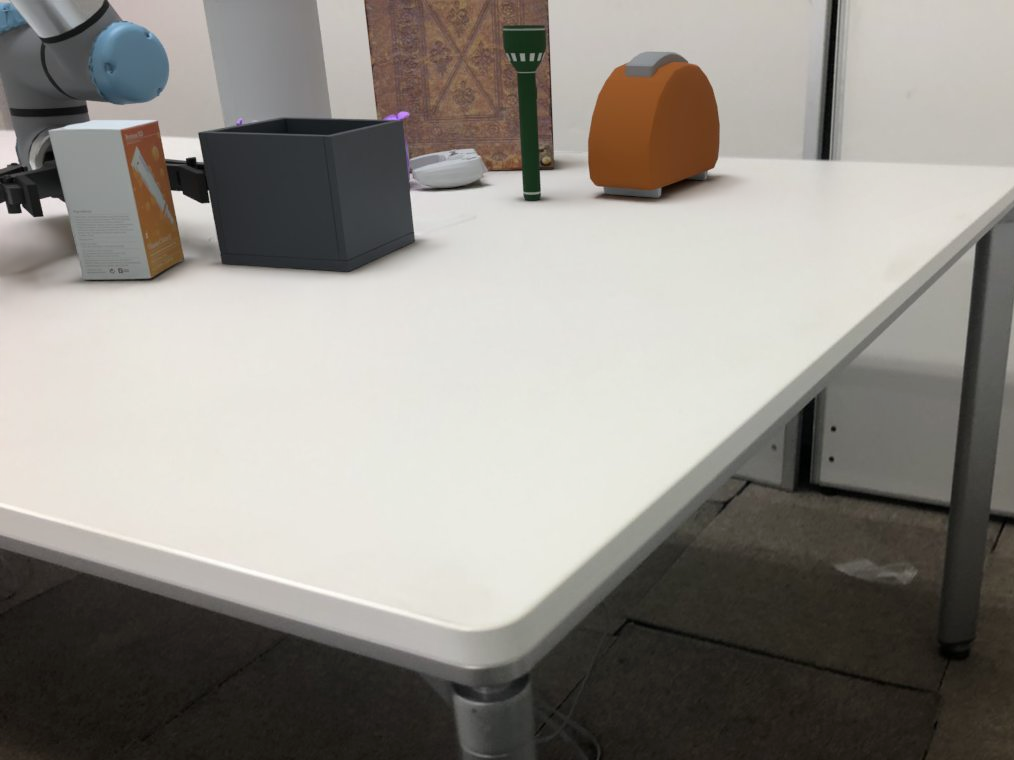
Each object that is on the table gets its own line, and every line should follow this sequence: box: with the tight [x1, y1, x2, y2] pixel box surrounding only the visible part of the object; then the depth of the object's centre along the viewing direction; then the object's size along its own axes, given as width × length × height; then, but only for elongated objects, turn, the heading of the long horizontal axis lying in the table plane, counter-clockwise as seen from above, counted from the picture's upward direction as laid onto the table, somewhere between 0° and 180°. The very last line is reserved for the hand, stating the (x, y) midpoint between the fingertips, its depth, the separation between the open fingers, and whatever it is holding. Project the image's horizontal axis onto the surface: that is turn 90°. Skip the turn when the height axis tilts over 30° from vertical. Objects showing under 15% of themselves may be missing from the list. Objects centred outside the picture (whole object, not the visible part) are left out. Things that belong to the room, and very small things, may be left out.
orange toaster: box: [587, 51, 721, 199], centre depth 132 cm, size 23×9×17 cm, turn 154°
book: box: [363, 0, 555, 173], centre depth 147 cm, size 25×9×30 cm, turn 96°
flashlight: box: [503, 25, 546, 201], centre depth 123 cm, size 5×5×20 cm
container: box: [202, 0, 333, 128], centre depth 158 cm, size 17×17×25 cm
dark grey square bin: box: [197, 117, 416, 273], centre depth 99 cm, size 14×14×12 cm
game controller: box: [409, 149, 489, 189], centre depth 139 cm, size 14×4×10 cm
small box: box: [49, 119, 185, 281], centre depth 92 cm, size 8×6×13 cm
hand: (123, 194), depth 90 cm, fingers open, 13 cm apart
